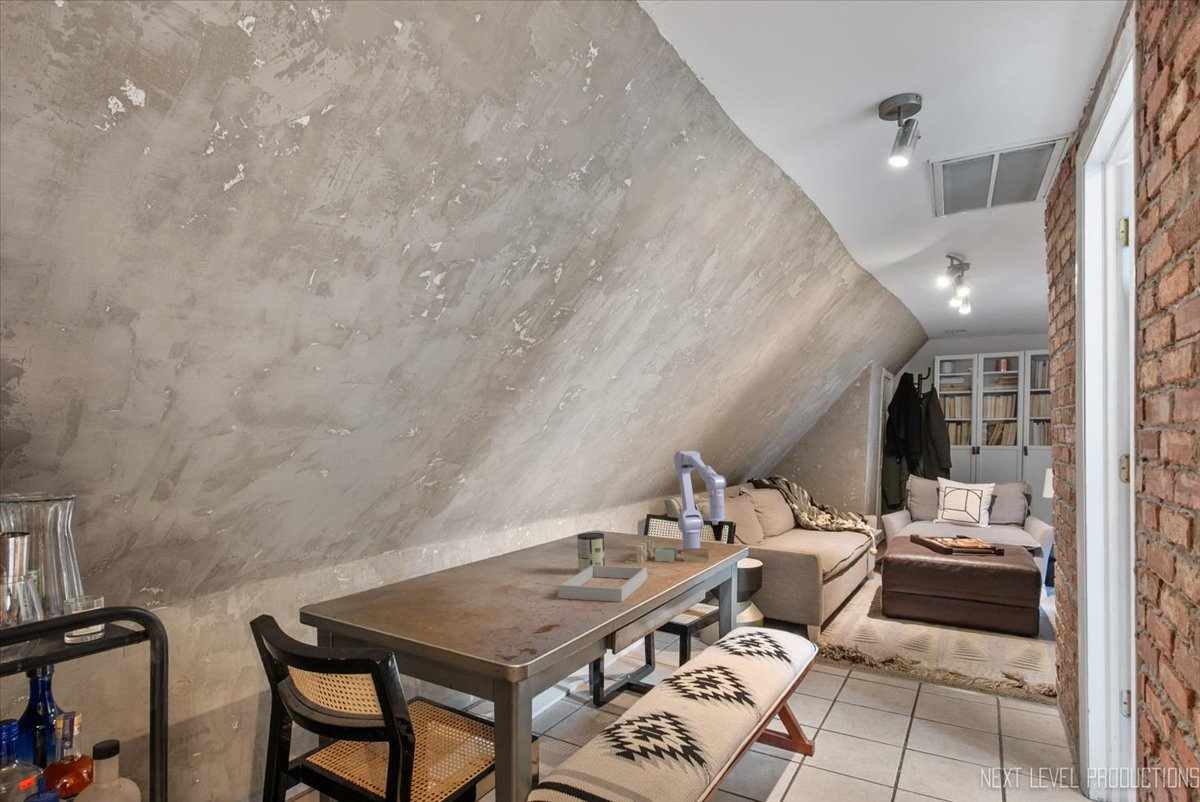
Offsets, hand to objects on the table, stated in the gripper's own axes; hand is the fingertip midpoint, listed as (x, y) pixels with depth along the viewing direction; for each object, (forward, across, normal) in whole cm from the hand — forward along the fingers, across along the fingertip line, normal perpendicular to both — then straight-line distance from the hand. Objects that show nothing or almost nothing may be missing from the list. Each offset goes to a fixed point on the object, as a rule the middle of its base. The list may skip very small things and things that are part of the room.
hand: (718, 540), depth 252 cm
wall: (+8, 0, +32) cm, 34 cm away
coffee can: (+9, -28, +44) cm, 53 cm away
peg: (+9, 0, +9) cm, 13 cm away
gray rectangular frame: (+9, -51, +31) cm, 60 cm away
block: (+8, 0, +21) cm, 23 cm away
